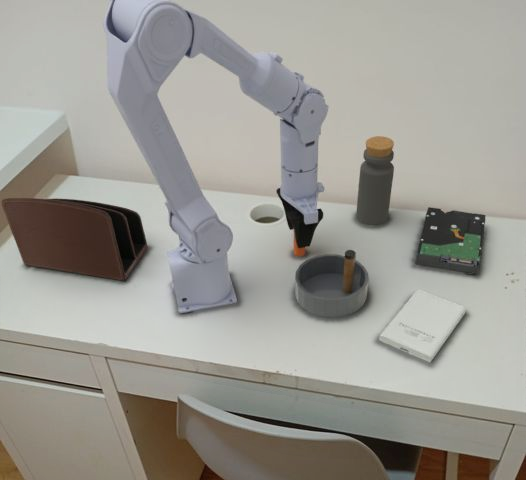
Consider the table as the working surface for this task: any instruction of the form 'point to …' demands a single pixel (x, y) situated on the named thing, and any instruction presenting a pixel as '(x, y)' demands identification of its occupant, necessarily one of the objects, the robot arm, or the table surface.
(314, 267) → the pot
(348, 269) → the brown slender rod
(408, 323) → the hard drive
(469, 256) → the disk drive
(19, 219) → the letter holder
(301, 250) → the marker
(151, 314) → the table surface
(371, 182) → the bottle
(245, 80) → the robot arm
